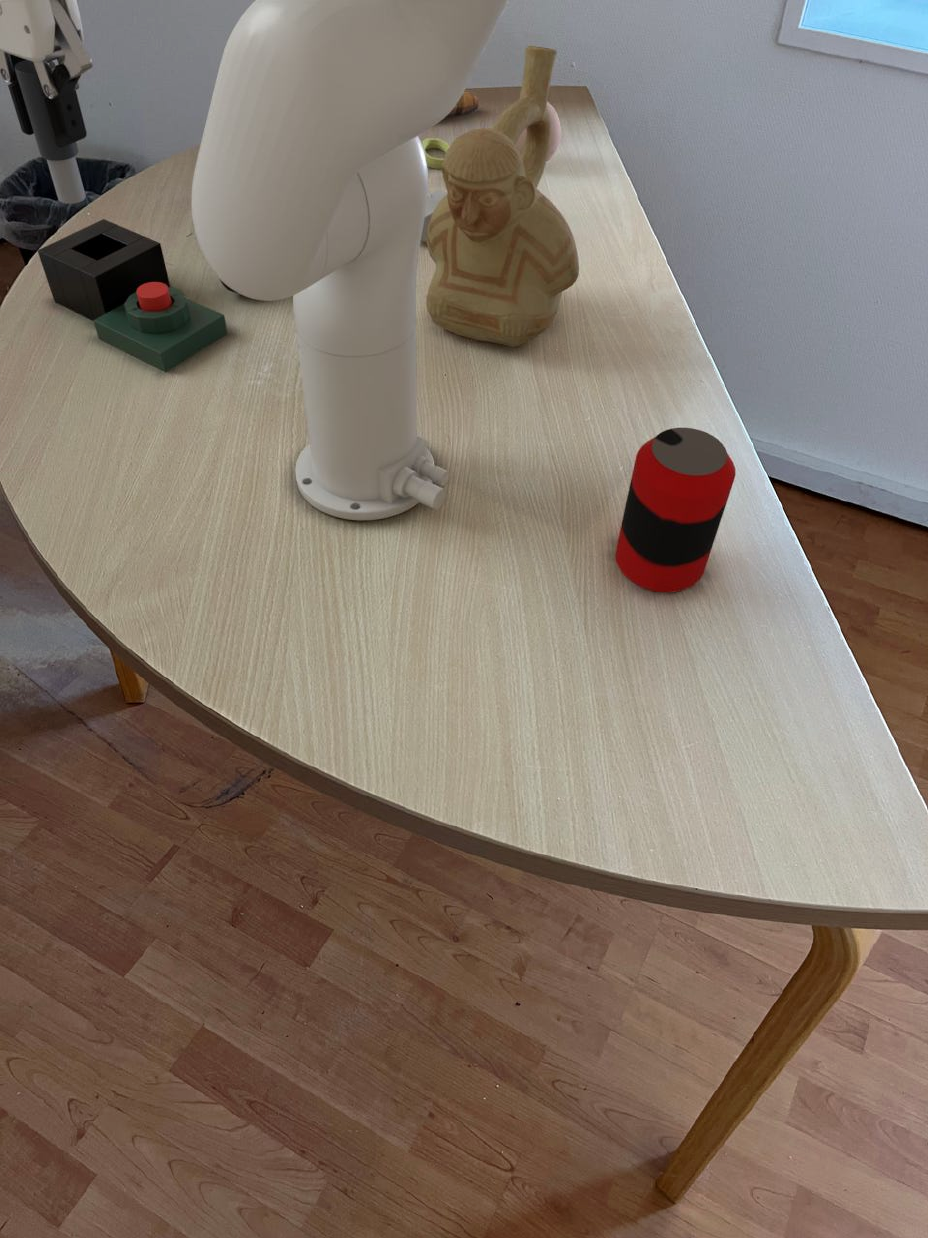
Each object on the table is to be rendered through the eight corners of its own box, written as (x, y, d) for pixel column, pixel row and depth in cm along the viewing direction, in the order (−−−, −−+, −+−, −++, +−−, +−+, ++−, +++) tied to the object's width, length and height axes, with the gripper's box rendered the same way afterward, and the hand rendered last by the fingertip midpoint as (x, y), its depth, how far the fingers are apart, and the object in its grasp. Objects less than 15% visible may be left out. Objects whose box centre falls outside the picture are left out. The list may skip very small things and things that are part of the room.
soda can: (654, 519, 82) (682, 407, 73) (722, 566, 79) (760, 455, 69) (596, 558, 79) (618, 446, 70) (664, 609, 75) (696, 498, 66)
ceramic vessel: (390, 340, 99) (381, 87, 81) (466, 259, 111) (474, 22, 92) (536, 383, 95) (563, 126, 76) (600, 294, 107) (636, 52, 88)
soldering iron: (98, 196, 85) (63, 64, 77) (70, 209, 83) (32, 75, 75) (73, 186, 86) (37, 55, 78) (46, 199, 84) (5, 66, 76)
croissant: (469, 102, 143) (470, 66, 139) (485, 119, 139) (487, 82, 135) (385, 111, 140) (384, 75, 136) (399, 129, 136) (398, 92, 132)
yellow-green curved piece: (362, 156, 129) (361, 140, 128) (444, 145, 133) (444, 129, 131) (379, 178, 125) (379, 162, 123) (463, 166, 128) (464, 150, 127)
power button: (178, 303, 96) (175, 287, 95) (155, 316, 95) (151, 301, 93) (156, 293, 98) (153, 278, 96) (133, 306, 96) (129, 290, 94)
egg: (554, 152, 132) (560, 88, 126) (561, 174, 127) (568, 109, 121) (504, 152, 131) (507, 88, 125) (509, 174, 127) (513, 109, 121)
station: (227, 333, 100) (221, 299, 96) (165, 371, 95) (156, 337, 92) (162, 302, 103) (154, 269, 100) (98, 338, 98) (88, 304, 95)
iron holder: (172, 293, 104) (160, 242, 100) (110, 328, 99) (94, 276, 95) (117, 269, 108) (103, 218, 103) (54, 301, 103) (37, 250, 98)
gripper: (-138, -143, 67) (-43, 124, 81) (13, -101, 62) (87, 177, 76) (-49, -159, 71) (27, 98, 85) (100, -120, 66) (155, 147, 80)
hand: (54, 133), depth 80 cm, fingers closed on soldering iron, 3 cm apart
